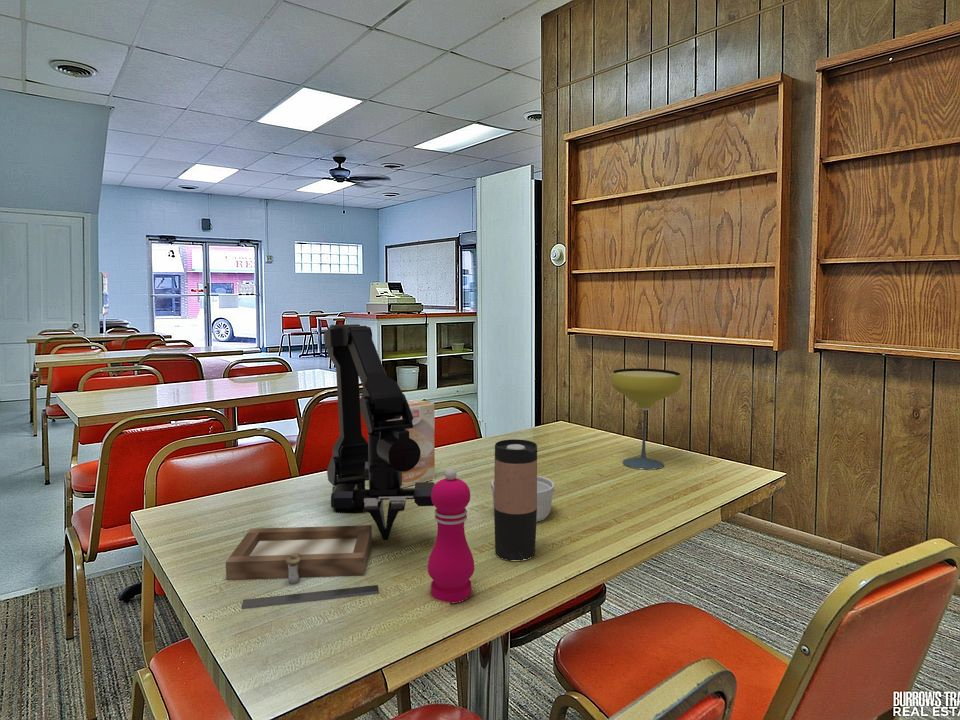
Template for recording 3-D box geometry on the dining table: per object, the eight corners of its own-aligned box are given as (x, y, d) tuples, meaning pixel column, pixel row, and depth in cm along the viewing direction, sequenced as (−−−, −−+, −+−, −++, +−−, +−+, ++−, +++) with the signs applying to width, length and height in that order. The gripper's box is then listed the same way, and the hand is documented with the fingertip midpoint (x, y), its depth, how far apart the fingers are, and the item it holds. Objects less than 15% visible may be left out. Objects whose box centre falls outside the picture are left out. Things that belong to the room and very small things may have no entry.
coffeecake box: (384, 493, 144) (383, 410, 141) (368, 485, 149) (367, 406, 147) (436, 480, 153) (435, 402, 151) (419, 473, 159) (418, 398, 156)
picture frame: (372, 540, 116) (371, 521, 115) (362, 582, 99) (361, 559, 99) (251, 544, 114) (250, 524, 113) (221, 587, 97) (219, 564, 97)
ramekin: (559, 508, 134) (560, 476, 133) (545, 530, 122) (546, 496, 121) (501, 501, 139) (501, 470, 138) (482, 522, 126) (482, 489, 125)
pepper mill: (447, 578, 101) (446, 459, 99) (483, 591, 97) (483, 467, 95) (418, 596, 95) (416, 470, 93) (455, 610, 91) (455, 479, 89)
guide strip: (377, 589, 98) (377, 584, 98) (378, 595, 96) (378, 590, 96) (243, 604, 93) (243, 599, 93) (241, 611, 91) (241, 606, 91)
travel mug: (491, 545, 115) (492, 439, 112) (532, 543, 115) (533, 438, 113) (496, 563, 107) (496, 450, 105) (539, 561, 108) (541, 449, 105)
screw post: (299, 581, 100) (298, 560, 100) (298, 585, 99) (298, 565, 98) (289, 582, 100) (288, 561, 100) (288, 587, 98) (287, 566, 98)
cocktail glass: (689, 463, 168) (693, 372, 165) (659, 478, 155) (663, 379, 152) (629, 451, 180) (631, 366, 177) (596, 465, 166) (598, 373, 164)
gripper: (436, 445, 121) (436, 522, 123) (339, 446, 120) (341, 524, 121) (435, 461, 110) (436, 545, 112) (329, 462, 109) (331, 548, 110)
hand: (385, 539), depth 114 cm, fingers closed
